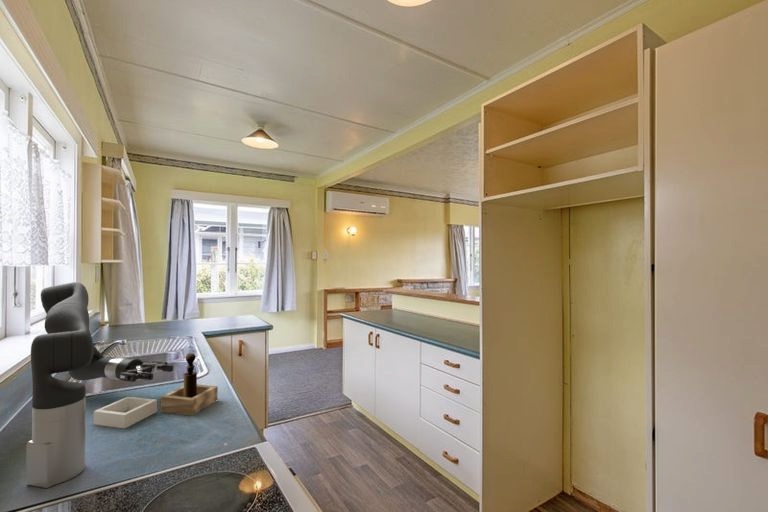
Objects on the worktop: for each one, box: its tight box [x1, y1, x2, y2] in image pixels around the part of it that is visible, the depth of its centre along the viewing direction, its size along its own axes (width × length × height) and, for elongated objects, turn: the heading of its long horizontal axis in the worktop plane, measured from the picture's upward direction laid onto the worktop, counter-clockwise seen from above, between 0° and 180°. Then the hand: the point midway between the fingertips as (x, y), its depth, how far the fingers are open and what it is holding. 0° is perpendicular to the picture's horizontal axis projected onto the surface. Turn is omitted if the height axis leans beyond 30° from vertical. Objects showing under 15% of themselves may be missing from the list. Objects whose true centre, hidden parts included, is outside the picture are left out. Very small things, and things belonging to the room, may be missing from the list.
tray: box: [93, 396, 158, 429], centre depth 111 cm, size 11×11×4 cm
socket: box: [160, 384, 219, 416], centre depth 120 cm, size 12×12×5 cm
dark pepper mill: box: [183, 352, 198, 398], centre depth 120 cm, size 7×6×18 cm
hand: (162, 372), depth 123 cm, fingers open, 8 cm apart
